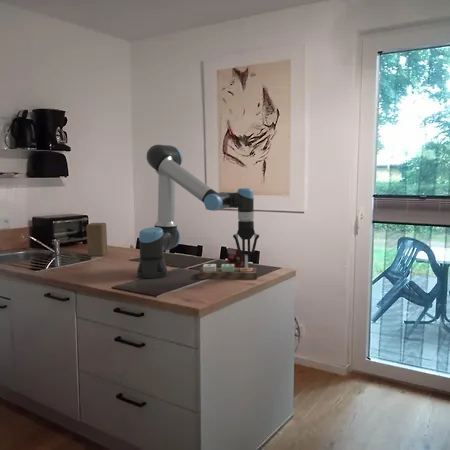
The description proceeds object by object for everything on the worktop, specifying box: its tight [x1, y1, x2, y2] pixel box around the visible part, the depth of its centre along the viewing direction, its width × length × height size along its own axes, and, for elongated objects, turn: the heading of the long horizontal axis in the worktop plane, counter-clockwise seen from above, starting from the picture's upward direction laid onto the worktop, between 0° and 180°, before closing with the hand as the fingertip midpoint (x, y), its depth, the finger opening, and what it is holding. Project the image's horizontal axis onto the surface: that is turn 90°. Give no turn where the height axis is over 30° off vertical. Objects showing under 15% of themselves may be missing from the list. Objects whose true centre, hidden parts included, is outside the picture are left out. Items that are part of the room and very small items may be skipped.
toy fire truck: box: [224, 247, 245, 268], centre depth 239 cm, size 7×12×10 cm, turn 42°
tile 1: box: [202, 263, 217, 272], centre depth 220 cm, size 6×6×3 cm
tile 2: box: [220, 263, 234, 272], centre depth 220 cm, size 6×6×3 cm
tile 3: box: [239, 267, 254, 272], centre depth 219 cm, size 6×6×3 cm
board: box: [197, 267, 258, 280], centre depth 220 cm, size 28×12×3 cm, turn 86°
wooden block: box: [86, 222, 108, 257], centre depth 282 cm, size 10×10×20 cm
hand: (246, 268), depth 219 cm, fingers closed
